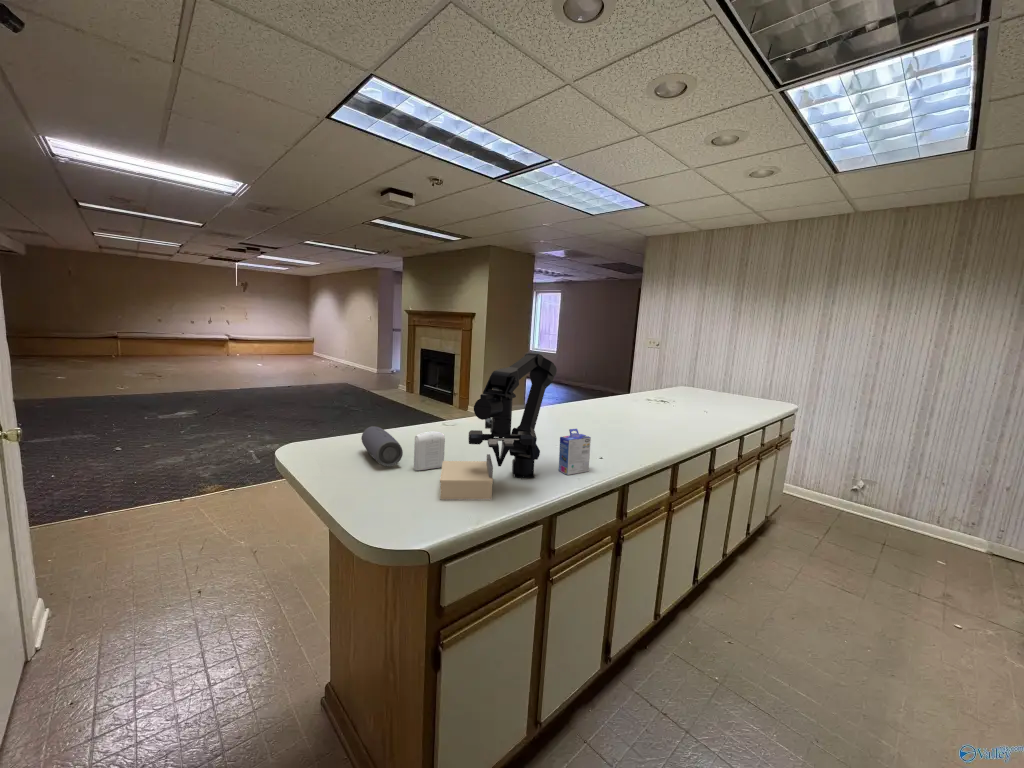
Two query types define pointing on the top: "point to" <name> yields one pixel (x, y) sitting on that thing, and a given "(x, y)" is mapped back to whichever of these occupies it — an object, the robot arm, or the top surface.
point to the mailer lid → (467, 471)
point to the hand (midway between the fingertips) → (499, 465)
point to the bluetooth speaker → (382, 446)
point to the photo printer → (429, 450)
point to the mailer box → (465, 491)
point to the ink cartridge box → (574, 453)
